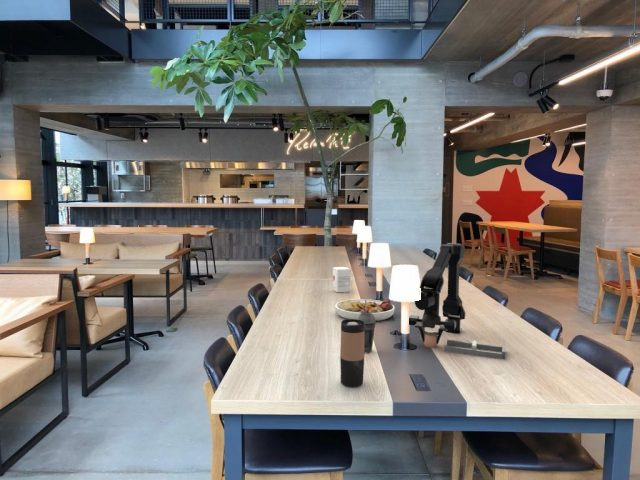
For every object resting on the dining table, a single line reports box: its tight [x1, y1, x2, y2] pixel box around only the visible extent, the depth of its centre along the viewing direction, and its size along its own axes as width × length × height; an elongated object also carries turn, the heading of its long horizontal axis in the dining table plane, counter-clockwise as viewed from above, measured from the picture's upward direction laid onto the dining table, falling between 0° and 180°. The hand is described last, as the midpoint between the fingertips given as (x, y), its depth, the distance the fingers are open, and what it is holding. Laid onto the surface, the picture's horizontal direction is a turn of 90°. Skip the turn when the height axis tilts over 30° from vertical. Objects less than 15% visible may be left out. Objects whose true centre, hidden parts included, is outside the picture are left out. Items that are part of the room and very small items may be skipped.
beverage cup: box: [358, 300, 377, 354], centre depth 174 cm, size 7×7×20 cm
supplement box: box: [332, 266, 351, 293], centre depth 286 cm, size 9×9×15 cm
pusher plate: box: [471, 340, 478, 350], centre depth 176 cm, size 6×2×3 cm, turn 157°
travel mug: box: [339, 319, 365, 388], centre depth 144 cm, size 8×8×20 cm
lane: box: [443, 339, 507, 360], centre depth 176 cm, size 9×22×3 cm, turn 67°
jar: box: [423, 329, 438, 349], centre depth 182 cm, size 5×5×6 cm
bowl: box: [334, 298, 396, 322], centre depth 229 cm, size 30×30×8 cm
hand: (430, 343), depth 182 cm, fingers closed on jar, 5 cm apart
